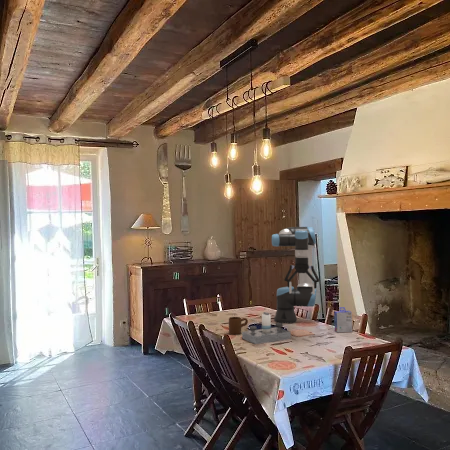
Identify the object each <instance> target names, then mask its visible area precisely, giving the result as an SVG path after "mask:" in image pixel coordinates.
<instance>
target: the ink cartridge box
mask: <svg viewBox="0 0 450 450" xmlns="http://www.w3.org/2000/svg"><path fill="white" fill-rule="evenodd" d="M338 308H339V310H338V311H337V310H336V311H333V315H334V317H333V319H334V331H335V333H352V332H353V312H352V311H351V310H346V307H345V306H342V307H338Z"/></svg>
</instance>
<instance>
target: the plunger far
mask: <svg viewBox="0 0 450 450" xmlns="http://www.w3.org/2000/svg"><path fill="white" fill-rule="evenodd" d="M283 326H284V323H278V322H275V327H278V331H281V329H282V327H283Z"/></svg>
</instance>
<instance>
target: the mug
mask: <svg viewBox="0 0 450 450" xmlns="http://www.w3.org/2000/svg"><path fill="white" fill-rule="evenodd" d="M244 321H245V322H244ZM242 322H244V323H242ZM248 323H249V320H248V318H247V317H239V316H230V317H229V318H228V334H230V335H234V336H236V335H241V334H242V328H243V327H245V326H247V325H248Z"/></svg>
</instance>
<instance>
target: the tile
mask: <svg viewBox="0 0 450 450" xmlns="http://www.w3.org/2000/svg"><path fill="white" fill-rule="evenodd" d="M290 332H291V336H293V337H296V338H301V337H308V336H314V335H315V333H314V332H311V331H308V330H304V329H298V330H297V329H296V330H290Z"/></svg>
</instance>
